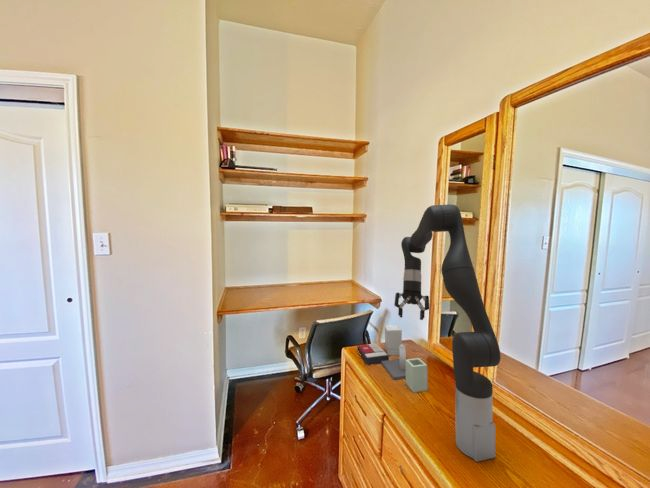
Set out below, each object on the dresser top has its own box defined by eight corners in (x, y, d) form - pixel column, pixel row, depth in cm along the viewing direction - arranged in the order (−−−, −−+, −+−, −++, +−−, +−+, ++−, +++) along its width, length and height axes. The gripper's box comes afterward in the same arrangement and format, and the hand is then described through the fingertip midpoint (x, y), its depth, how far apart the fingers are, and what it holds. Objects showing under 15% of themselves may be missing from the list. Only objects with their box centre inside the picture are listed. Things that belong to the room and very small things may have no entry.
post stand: (422, 375, 113) (422, 347, 113) (393, 380, 111) (393, 351, 110) (406, 360, 127) (406, 334, 126) (381, 363, 125) (380, 337, 124)
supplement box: (402, 355, 132) (402, 330, 131) (387, 355, 133) (386, 330, 132) (399, 348, 139) (398, 324, 139) (384, 348, 140) (384, 325, 139)
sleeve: (427, 390, 103) (427, 365, 103) (413, 392, 102) (412, 367, 102) (419, 381, 109) (419, 357, 109) (405, 383, 108) (405, 359, 108)
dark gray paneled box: (377, 342, 140) (388, 353, 126) (377, 350, 140) (389, 363, 126) (356, 344, 138) (366, 356, 124) (357, 353, 138) (366, 365, 124)
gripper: (397, 278, 115) (395, 317, 112) (431, 281, 114) (431, 320, 110) (394, 280, 123) (392, 316, 119) (426, 283, 121) (425, 320, 117)
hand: (411, 318), depth 114 cm, fingers open, 8 cm apart
